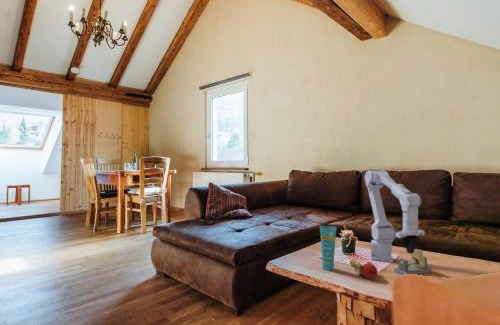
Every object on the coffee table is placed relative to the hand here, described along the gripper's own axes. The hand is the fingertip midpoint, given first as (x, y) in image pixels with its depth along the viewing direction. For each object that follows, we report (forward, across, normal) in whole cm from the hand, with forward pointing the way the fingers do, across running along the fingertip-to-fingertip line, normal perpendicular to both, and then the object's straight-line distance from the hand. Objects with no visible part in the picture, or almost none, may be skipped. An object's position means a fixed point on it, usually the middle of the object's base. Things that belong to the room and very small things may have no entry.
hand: (410, 252), depth 126 cm
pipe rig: (+8, +2, 0) cm, 9 cm away
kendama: (+9, -20, +8) cm, 23 cm away
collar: (+6, +4, 0) cm, 8 cm away
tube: (+9, -30, +17) cm, 36 cm away
